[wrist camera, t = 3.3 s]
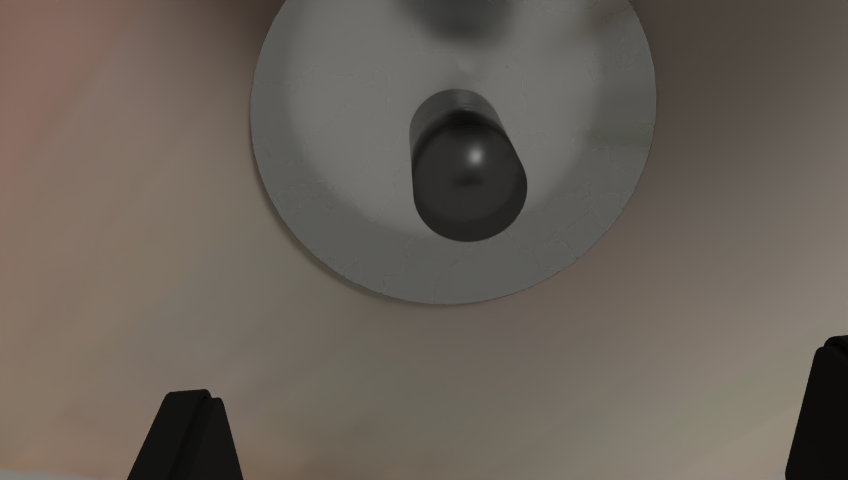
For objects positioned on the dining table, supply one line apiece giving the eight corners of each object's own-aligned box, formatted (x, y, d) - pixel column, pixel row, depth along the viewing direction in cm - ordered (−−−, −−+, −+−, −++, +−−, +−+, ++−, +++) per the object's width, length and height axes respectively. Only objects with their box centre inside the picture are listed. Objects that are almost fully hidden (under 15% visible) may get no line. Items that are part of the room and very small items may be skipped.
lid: (666, -108, 20) (763, -111, 15) (630, 277, 27) (688, 370, 22) (217, -76, 20) (155, -67, 15) (289, 303, 27) (264, 403, 21)
